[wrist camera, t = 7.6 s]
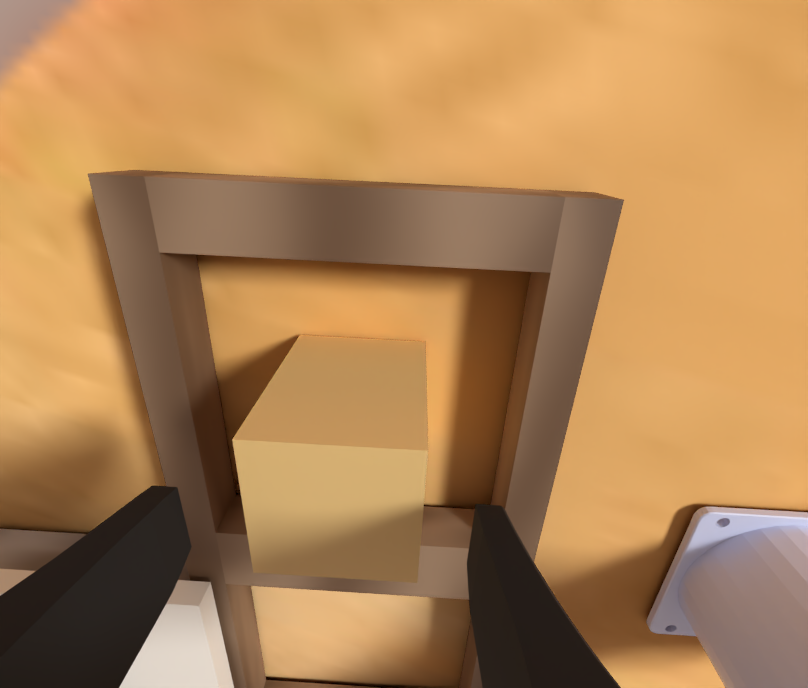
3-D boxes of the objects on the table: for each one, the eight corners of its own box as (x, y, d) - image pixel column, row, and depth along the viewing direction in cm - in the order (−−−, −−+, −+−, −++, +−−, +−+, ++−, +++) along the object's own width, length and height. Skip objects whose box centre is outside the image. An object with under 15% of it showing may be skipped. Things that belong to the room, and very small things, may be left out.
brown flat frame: (595, 192, 13) (623, 200, 11) (480, 713, 25) (485, 758, 23) (-249, 151, 13) (-356, 152, 11) (44, 683, 25) (15, 725, 24)
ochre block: (425, 341, 15) (428, 451, 10) (418, 443, 17) (417, 582, 12) (299, 334, 15) (232, 439, 10) (306, 437, 17) (253, 572, 12)
